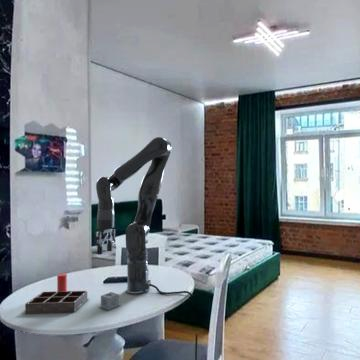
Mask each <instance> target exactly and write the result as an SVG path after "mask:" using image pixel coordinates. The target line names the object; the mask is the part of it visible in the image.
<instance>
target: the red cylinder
mask: <svg viewBox="0 0 360 360" xmlns="http://www.w3.org/2000/svg"><path fill="white" fill-rule="evenodd" d="M56 279H57V280H56V281H57V282H56V283H57V288H56V289H57V290H56V291H68V274H67V273H59V274H57V277H56Z"/></svg>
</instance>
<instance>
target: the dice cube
mask: <svg viewBox="0 0 360 360" xmlns="http://www.w3.org/2000/svg"><path fill="white" fill-rule="evenodd" d="M119 306H120V294H119V293H116V292H113V291H110V292H108V293H105V294H102V295H100V308H101V309H104V310H106V311H111V310H113V309H115V308H117V307H119Z"/></svg>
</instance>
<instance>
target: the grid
mask: <svg viewBox="0 0 360 360" xmlns="http://www.w3.org/2000/svg"><path fill="white" fill-rule="evenodd" d="M87 300H88V290H67V291H57V290H56V291H42V292H40V293H39V294H38V295H36V296H35V297H33V298H31V299H30V300H29V301H27V302H26V303H25V304H24V305H25V314H54V313H55V314H56V313H57V314H58V313H59V314H60V313H61V314H62V313H75V312H77V310H78V309H79V308H80V307H82V305H83V304H85V302H87Z"/></svg>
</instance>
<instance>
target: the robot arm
mask: <svg viewBox="0 0 360 360" xmlns="http://www.w3.org/2000/svg"><path fill="white" fill-rule="evenodd" d="M172 148H173V147H172V144H171V142H170V141H169V140H168V139H166V138H164V137H162V136H157V137H154V138H153V139H151V140H150V141H149V142H148V143H147V144H146V146H145V147H143V148H142V149H141V150H140V151H139V152H137V154H135V155H134V156H133V157H131V158H130V159H128V160H126V162H124V163H122V164H121V165H119V166H118V167H116V168H115V169H114V170H113V174H111V175H110V176H101V177H99V178H98V179H97V180H96V183H95V190H96V197H97V200H98V201H97V212H96V213H97V214H96V229H98V230H99V231H95V232H94V240H93V246H96V247H97V248H96V250H97V251H96V255H103V253H104V252H103V250H104V243H106V251H107V252H112V251H113V243H114V242H116V229H114V228H115V198H114V197H113V196H112V192H113V191H115V190H116V189H118V188H119V187H120V186H121V185H122V184H123V183H124V182H125V181H127V180H128V179H130V178H131V177H133V176H134V175H136V174H137V173H138V172H139V171H140V170H141V169H142V168H143V167H144V166H145V165H147V164H148V163H149V162H150V164H149V167H148V168H147V170H146V172H145V174H144V175H143V177H142V179H141V182H140V186H139V190H138V195H137V212H136V215H135V218H134V220H133V222H132V223H130V224H129V225H128V226H127V228H126V230H125V250H126V255H127V257H126V259H127V261H126V262H127V263H126V266H127V268H126V270H127V271H126V272H127V276H126V277H127V279H126V286H127V287H126V292H127V293H128V294H131V295H138V294H143V293H147V291H148V290H149V289H150V288H151V287H152V288H154V289H155V290H156V291H157V292H158V293H159V294H161V295H179V294H187V295H190V296H191V297H194V295H193V293H192V292H190V291H188V290H180V291H169V292H168V291H167V292H166V291H161V290H160V289H159V288H158V286H156V285H154V284H152V280H151V279H149V268H148V251H149V250H148V247H147V245H146V243H147V242H146V238H147V236H148V235H149V233H150V227H151V224H152V223H151V222H152V217H153V213H154V209H155V207H156V203H157V200H158V197H159V194H160V190H161V186H162V182H163V177H164V173H165V169H166V166H167V163H168V160H169V158H170V156H171V152H172ZM194 341H195V343H194V347H195V348H194V360H198V333H195V339H194Z"/></svg>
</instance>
